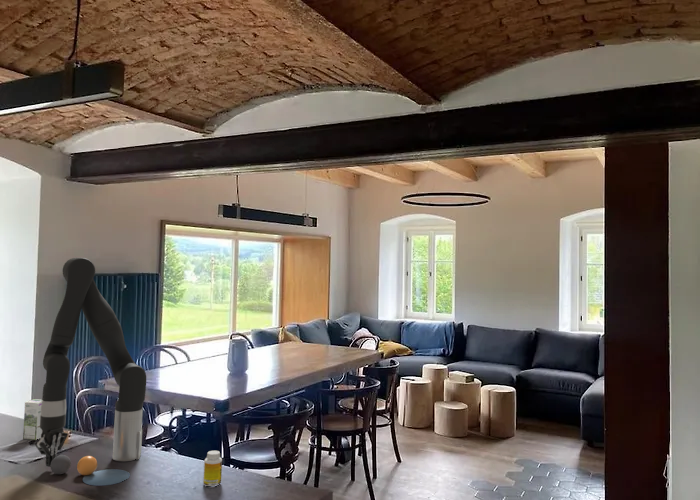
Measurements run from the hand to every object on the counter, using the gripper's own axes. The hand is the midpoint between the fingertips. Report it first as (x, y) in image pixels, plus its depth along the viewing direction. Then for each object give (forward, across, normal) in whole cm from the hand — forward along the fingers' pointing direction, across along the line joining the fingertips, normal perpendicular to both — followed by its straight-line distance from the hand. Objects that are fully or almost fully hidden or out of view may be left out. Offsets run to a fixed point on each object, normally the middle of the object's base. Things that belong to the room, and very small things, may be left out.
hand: (50, 465), depth 187 cm
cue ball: (-2, -2, -5) cm, 6 cm away
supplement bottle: (+2, +4, -56) cm, 56 cm away
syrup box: (+2, +28, +30) cm, 41 cm away
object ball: (-2, 0, -14) cm, 14 cm away
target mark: (+2, 0, -21) cm, 21 cm away
